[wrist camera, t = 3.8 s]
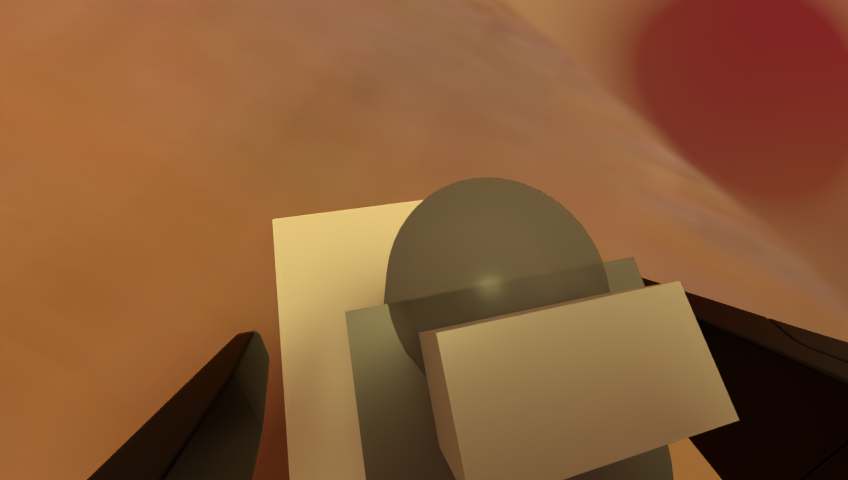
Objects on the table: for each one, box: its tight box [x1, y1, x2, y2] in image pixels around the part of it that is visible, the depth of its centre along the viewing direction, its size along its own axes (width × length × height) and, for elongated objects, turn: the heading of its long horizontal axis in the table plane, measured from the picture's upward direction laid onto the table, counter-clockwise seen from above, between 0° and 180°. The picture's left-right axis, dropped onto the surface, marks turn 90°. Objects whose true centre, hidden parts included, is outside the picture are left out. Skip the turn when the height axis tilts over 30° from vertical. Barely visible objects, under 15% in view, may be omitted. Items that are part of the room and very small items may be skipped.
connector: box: [345, 178, 739, 480], centre depth 8 cm, size 5×4×12 cm
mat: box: [272, 200, 423, 480], centre depth 14 cm, size 14×12×1 cm
